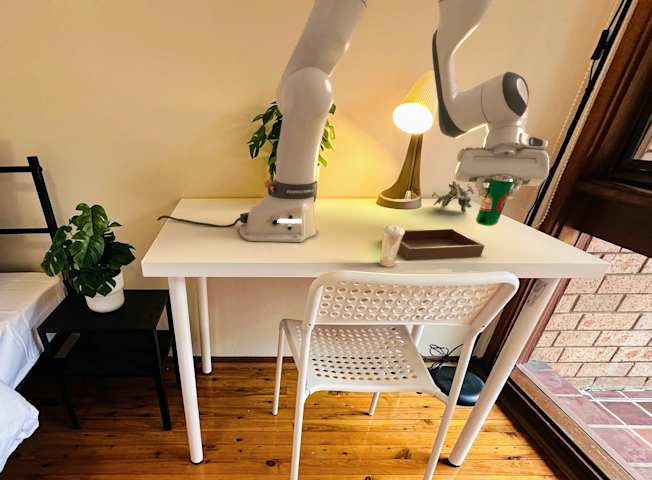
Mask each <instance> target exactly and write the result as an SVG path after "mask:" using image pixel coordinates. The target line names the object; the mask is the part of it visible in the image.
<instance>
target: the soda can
mask: <svg viewBox="0 0 652 480" xmlns="http://www.w3.org/2000/svg"><path fill="white" fill-rule="evenodd" d="M513 177H514V176H513V175H510V174H494V176H493V177H492V178H491V179H490V182H489V183H487V184H488V185H487V187H486V188H487V195H486V196H485V197H482V202H481V203H480V204H481V205H480V207H479V209H478V213H477V215H476V218H475V222H476V223H477V224H478V225H481V226H484V227H485V226H486V227H493V226H495V225H497V224H498V223H499V221H500V217H501V215H502V212H503V210H504V207H505V205H506V203H507V200H508V199H507V197H508V195H509V192H510V190H511V189H512V185H513V182H514V179H513Z"/></svg>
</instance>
